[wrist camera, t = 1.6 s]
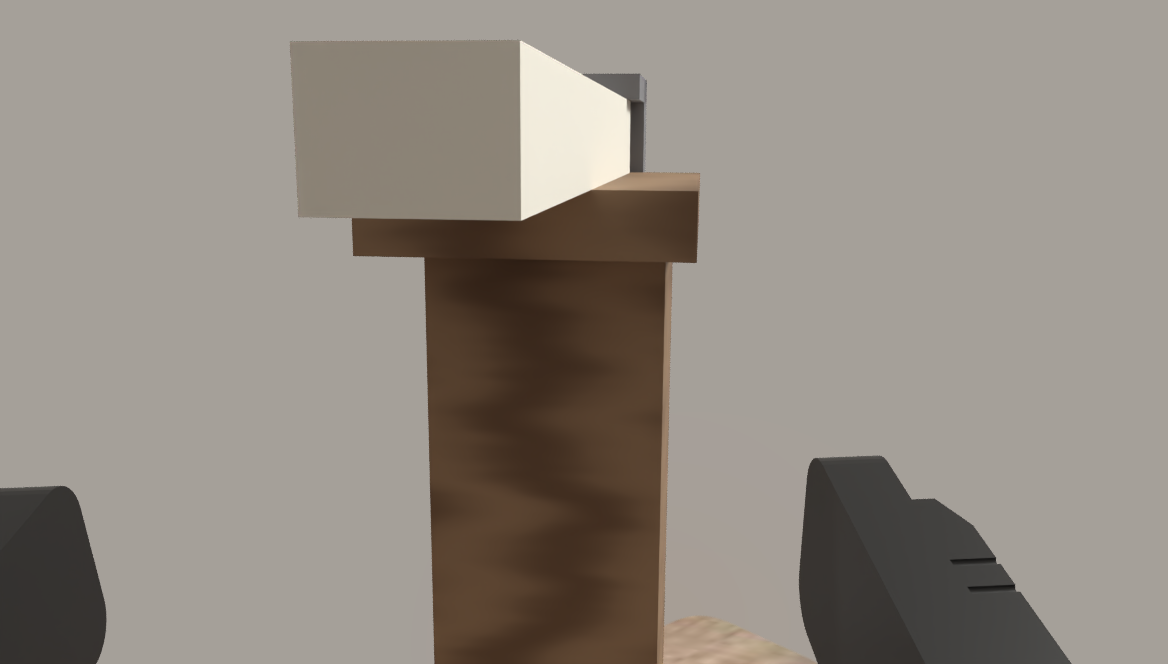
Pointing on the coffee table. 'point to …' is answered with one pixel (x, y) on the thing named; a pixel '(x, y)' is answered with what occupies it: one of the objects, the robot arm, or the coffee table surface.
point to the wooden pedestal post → (550, 420)
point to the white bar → (455, 129)
